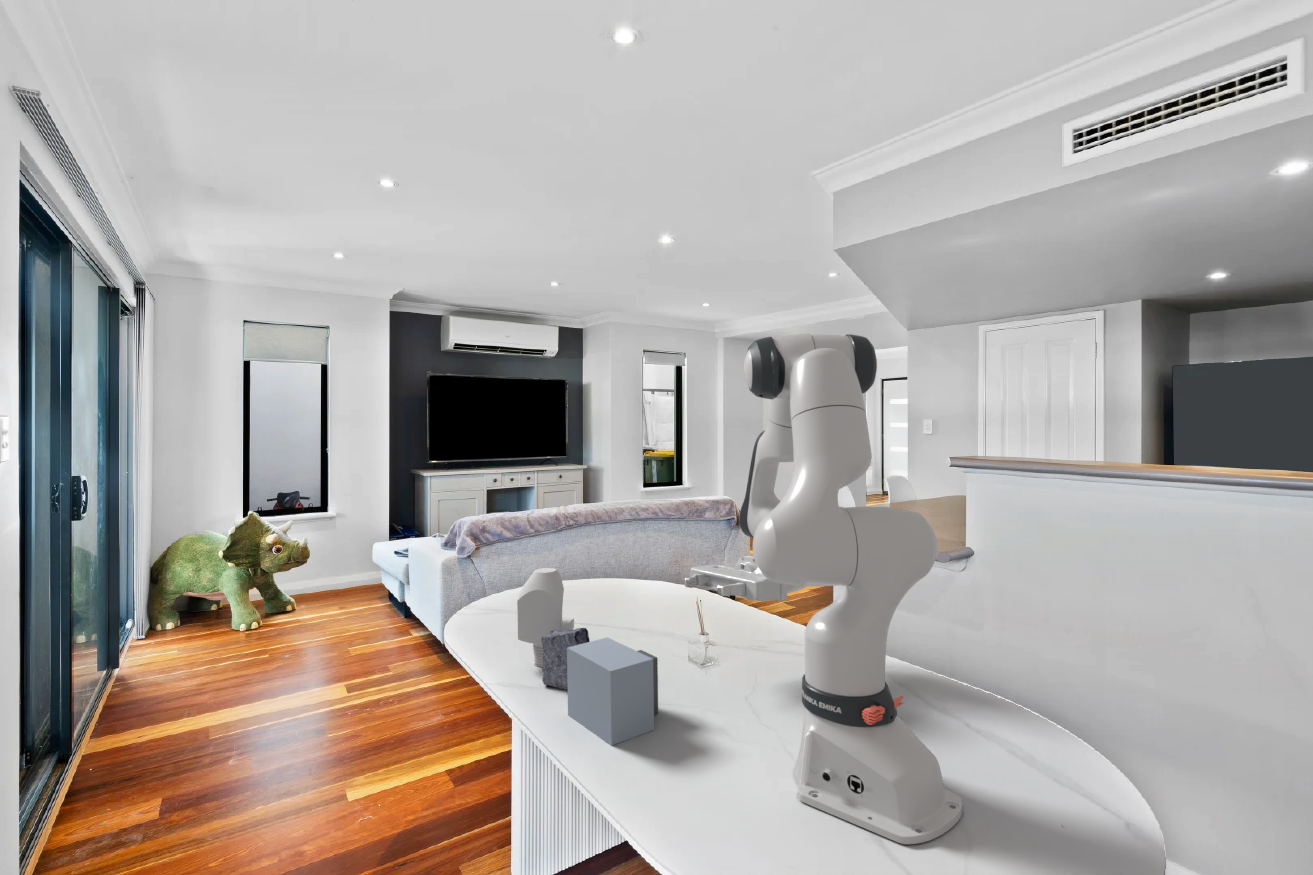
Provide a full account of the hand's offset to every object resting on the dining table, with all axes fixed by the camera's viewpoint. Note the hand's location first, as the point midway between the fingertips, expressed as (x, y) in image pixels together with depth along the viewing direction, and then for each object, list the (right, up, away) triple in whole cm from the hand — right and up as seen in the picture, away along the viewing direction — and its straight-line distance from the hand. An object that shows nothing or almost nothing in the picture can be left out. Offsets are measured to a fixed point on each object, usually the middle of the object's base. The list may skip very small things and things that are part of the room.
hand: (703, 586), depth 122 cm
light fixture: (-32, -21, +18) cm, 42 cm away
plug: (-13, -21, -8) cm, 26 cm away
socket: (-17, -21, -11) cm, 29 cm away
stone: (-27, -21, +7) cm, 35 cm away
